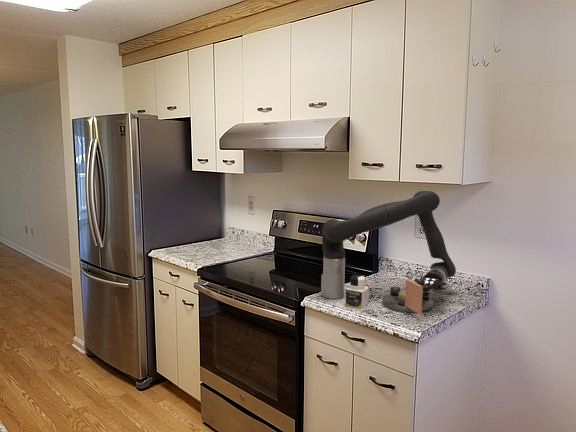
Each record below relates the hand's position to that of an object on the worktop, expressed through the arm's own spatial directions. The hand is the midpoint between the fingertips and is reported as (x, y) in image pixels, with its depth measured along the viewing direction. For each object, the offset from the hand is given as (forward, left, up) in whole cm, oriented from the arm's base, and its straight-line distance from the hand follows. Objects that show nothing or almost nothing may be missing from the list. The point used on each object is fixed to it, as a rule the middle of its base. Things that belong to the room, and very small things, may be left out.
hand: (425, 289), depth 175 cm
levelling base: (-9, +10, -10) cm, 17 cm away
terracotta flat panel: (-5, 0, -8) cm, 10 cm away
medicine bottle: (-27, 0, -11) cm, 29 cm away
